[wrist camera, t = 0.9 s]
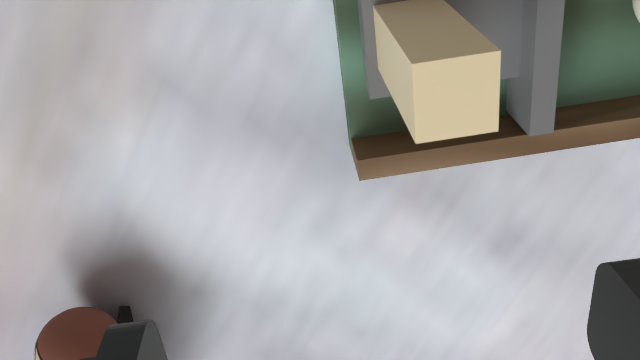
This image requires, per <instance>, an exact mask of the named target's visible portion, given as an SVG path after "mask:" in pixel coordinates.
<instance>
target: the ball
mask: <svg viewBox="0 0 640 360" xmlns="http://www.w3.org/2000/svg"><path fill="white" fill-rule="evenodd" d="M632 3H633V9H634V13H635V15H636V17H637V19H638V21H639V23H640V0H632Z"/></svg>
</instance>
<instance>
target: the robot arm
mask: <svg viewBox="0 0 640 360" xmlns="http://www.w3.org/2000/svg"><path fill="white" fill-rule="evenodd" d="M587 336H588V342H589V346H590V349H591V352H592V355H593V357H594V359H595V360H640V258H638V259H630V260H622V261H615V262H607V263H602V264H600V265H599V266H598V267H597V270H596V274H595V280H594V286H593V293H592V299H591V305H590V312H589V318H588V324H587ZM79 360H167V357H166V354H165V350H164V347H163V344H162V341H161V338H160V335H159V332H158V329H157V326H156V324H155V322H154V321H153V320H145V321H137V322H130V323H122V324H114V325H110V326H108V327H107V329H106V330H105V333H104V335H103V338H102V341H101V344H100V347H99V349H98V352H97V355H96V357H91V358H83V359H79Z"/></svg>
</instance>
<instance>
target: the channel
mask: <svg viewBox="0 0 640 360" xmlns="http://www.w3.org/2000/svg"><path fill="white" fill-rule="evenodd" d="M333 4H334V13H335V21H336V30H337V39H338V48H339V56H340V65H341V74H342V82H343V91H344V100H345V108H346V117H347V126H348V135H349V143H350V148H351V152H352V156H353V159H354V163H355V166H356V170H357V173H358V177H359V181H361V180H368V179H374V178H381V177H387V176H394V175H400V174H407V173H413V172H420V171H426V170H433V169H439V168H446V167H452V166H459V165H466V164H472V163H479V162H485V161H492V160H498V159H505V158H511V157H518V156H524V155H531V154H537V153H544V152H550V151H557V150H563V149H570V148H576V147H583V146H589V145H596V144H602V143H609V142H615V141H622V140H629V139H635V138H640V23H639V21H638V19H637V17H636V15H635V13H634V9H633V3H632V0H565V6H564V17H563V29H562V41H561V52H560V64H559V76H558V87H557V99H556V110H555V122H554V133H548V134H542V135H535V136H529V135H528V134H527V133H526V132H525V131H524V130H523V129H522V128H521V127H520V125H519V124H518V123H517V122H516V121H515V120H514V119H513V118H512V117H511V115H510V114H509V113H508V112H507V111H506V95H507V79H501V80H500V97H499V128H498V132H491V133H485V134H478V135H471V136H465V137H458V138H452V139H445V140H439V141H432V142H426V143H419V144H415V142H414V140H413V138H412V136H411V134H410V132H409V130H408V128H407V126H406V124H405V122H404V120H403V118H402V116H401V114H400V112H399V110H398V108H397V106H396V104H395V102H394V100H393V98H392V96H390V97H383V98H377V99H370V97H369V95H368V93H367V90H366V88H365V77H364V67H363V56H362V46H361V35H360V24H359V14H358V3H357V0H333Z"/></svg>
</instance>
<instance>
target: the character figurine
mask: <svg viewBox="0 0 640 360" xmlns="http://www.w3.org/2000/svg"><path fill="white" fill-rule="evenodd" d="M130 322H133V319H132V314H131V310H130V306H124V307H120V310H119V315H118V320H117V322H116V321H115V320H114V319H113V318H112V317H111V316H110V315H109V314H107V313H105V312H104V311H101V310H99V309H96V308H91V307H77V308H72V309H69V310H66V311H64V312H62V313H60V314H58V315H57V316H55V317H54V318H52V319H51V320H50V321H49V322H48V323H47V324H46V325H45V327H44V328H43V329H42V331H41V332H40V334H39V336H38V339H37V341H36V345H35V350H34V360H79V359H83V358H91V357H96V355H97V352H98V349H99V347H100V344H101V341H102V338H103V335H104V333H105V330H106V329H107V327H108V326H110V325H114V324H122V323H130Z"/></svg>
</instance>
